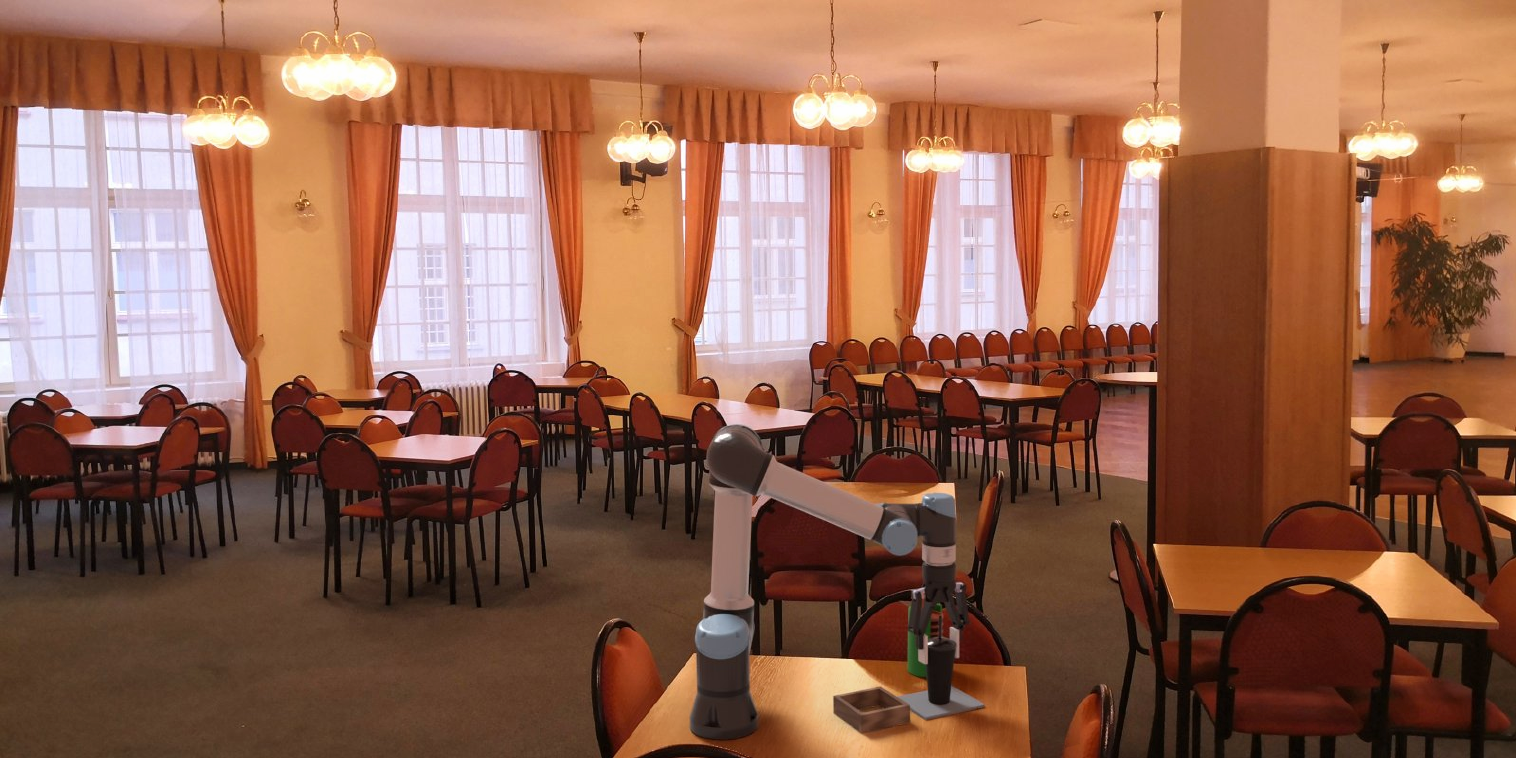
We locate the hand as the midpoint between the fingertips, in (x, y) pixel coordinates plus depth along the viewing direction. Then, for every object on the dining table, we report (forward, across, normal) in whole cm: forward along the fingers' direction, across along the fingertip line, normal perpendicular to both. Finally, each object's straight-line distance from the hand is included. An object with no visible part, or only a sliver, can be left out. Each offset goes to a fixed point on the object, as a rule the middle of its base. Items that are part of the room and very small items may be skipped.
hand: (938, 659), depth 256 cm
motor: (+11, +9, +19) cm, 24 cm away
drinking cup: (+10, 0, 0) cm, 10 cm away
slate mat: (+11, 0, 0) cm, 11 cm away
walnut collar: (+11, -18, 0) cm, 21 cm away
